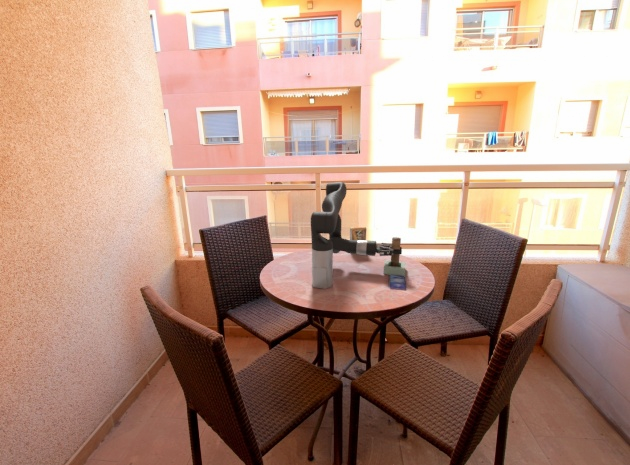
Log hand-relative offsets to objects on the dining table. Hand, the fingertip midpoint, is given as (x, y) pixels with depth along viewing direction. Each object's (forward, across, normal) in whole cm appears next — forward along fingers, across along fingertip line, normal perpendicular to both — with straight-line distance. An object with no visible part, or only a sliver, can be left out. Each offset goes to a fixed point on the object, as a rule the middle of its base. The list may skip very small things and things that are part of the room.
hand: (401, 250), depth 143 cm
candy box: (-25, +25, +12) cm, 37 cm away
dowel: (-3, 0, +8) cm, 8 cm away
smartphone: (-1, -14, +12) cm, 18 cm away
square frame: (-3, 0, +11) cm, 11 cm away
